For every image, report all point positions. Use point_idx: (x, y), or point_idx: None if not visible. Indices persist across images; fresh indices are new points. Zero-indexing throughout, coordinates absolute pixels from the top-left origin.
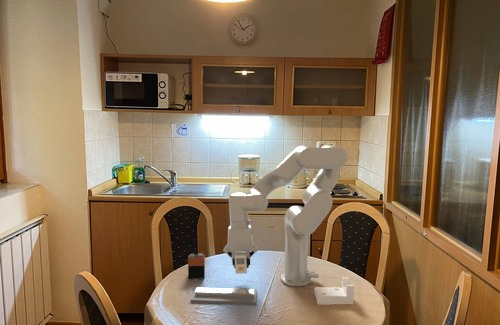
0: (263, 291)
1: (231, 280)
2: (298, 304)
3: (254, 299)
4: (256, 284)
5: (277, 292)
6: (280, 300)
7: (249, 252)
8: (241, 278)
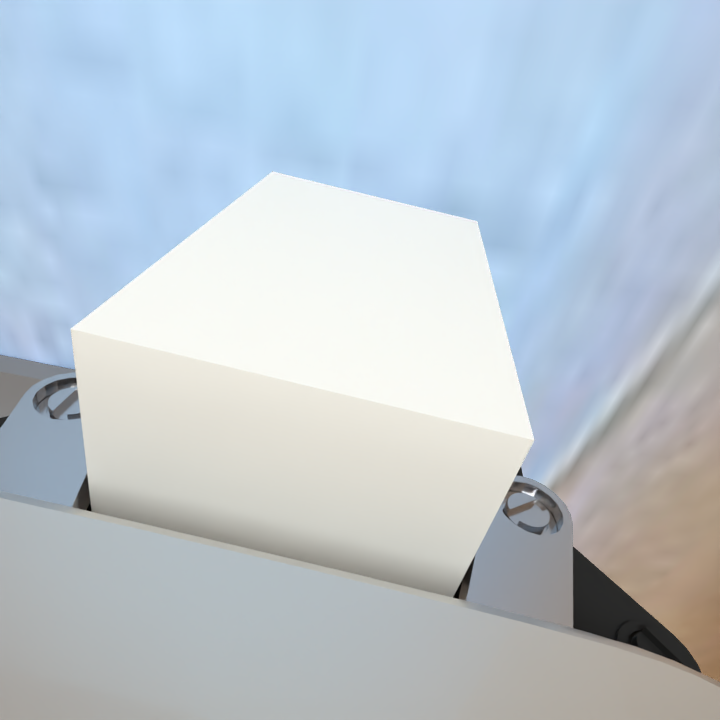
0: (537, 446)
1: (237, 161)
2: (704, 621)
3: None
4: (522, 309)
5: (654, 477)
6: (609, 571)
7: (543, 606)
8: (377, 113)
